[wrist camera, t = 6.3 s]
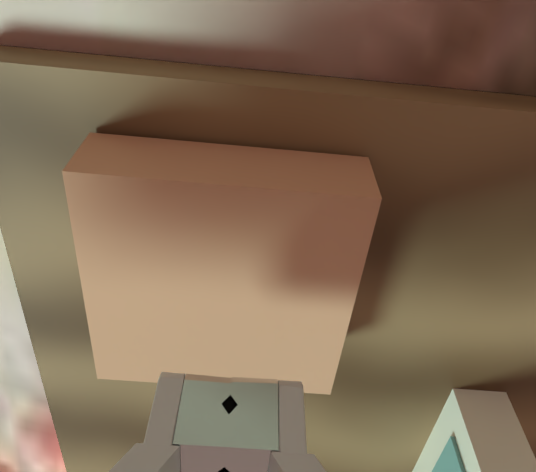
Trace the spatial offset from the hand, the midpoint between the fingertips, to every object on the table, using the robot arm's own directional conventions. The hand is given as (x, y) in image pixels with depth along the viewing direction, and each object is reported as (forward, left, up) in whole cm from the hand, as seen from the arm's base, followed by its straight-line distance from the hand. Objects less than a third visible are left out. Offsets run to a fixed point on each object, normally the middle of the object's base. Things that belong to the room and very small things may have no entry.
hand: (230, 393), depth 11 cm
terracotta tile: (0, +3, -4) cm, 5 cm away
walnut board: (+4, +3, -6) cm, 8 cm away
